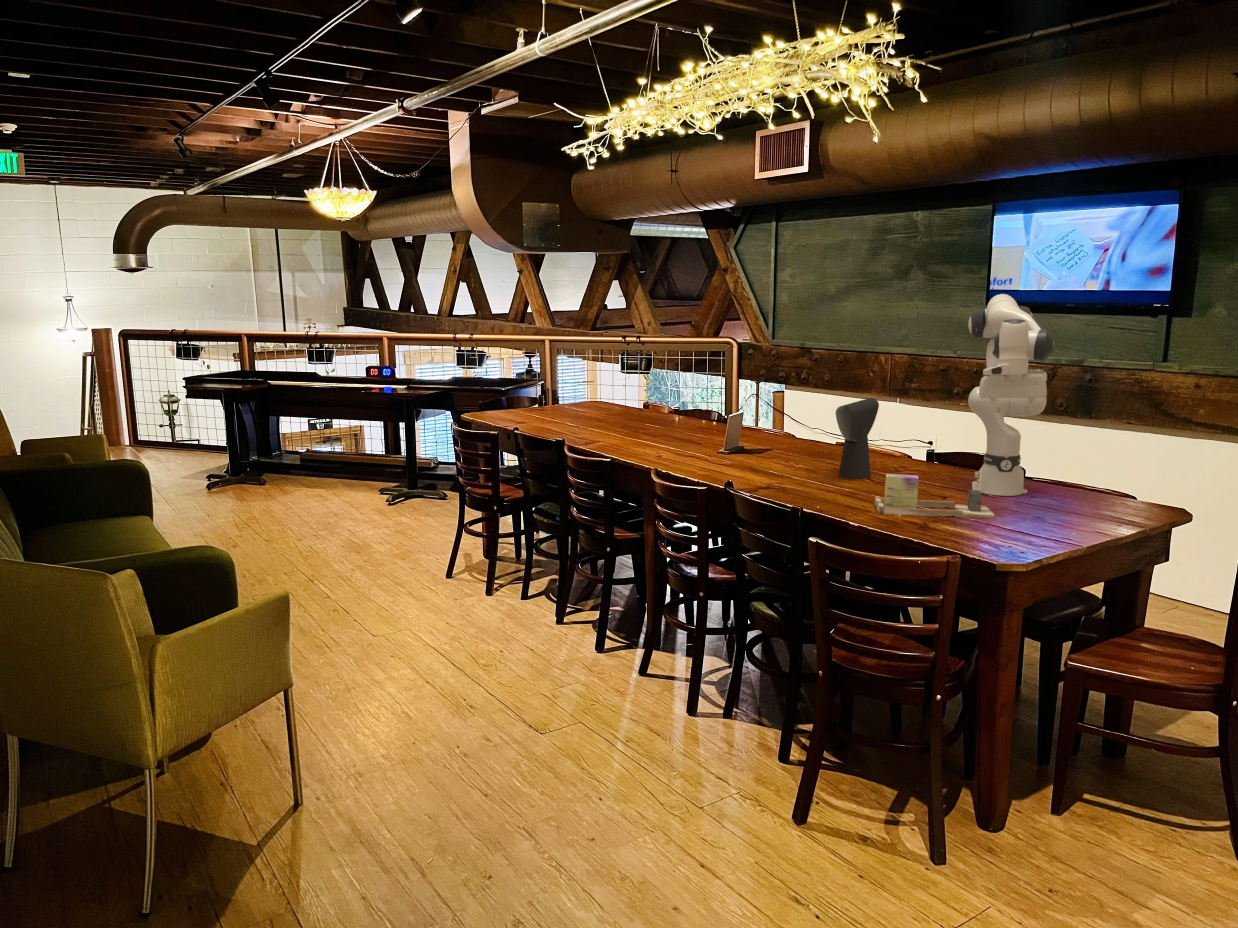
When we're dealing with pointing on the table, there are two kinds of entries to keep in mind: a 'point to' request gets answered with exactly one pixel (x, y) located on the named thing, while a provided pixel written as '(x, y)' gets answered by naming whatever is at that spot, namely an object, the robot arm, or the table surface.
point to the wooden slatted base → (969, 510)
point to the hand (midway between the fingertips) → (1012, 412)
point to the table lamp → (856, 437)
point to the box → (901, 491)
